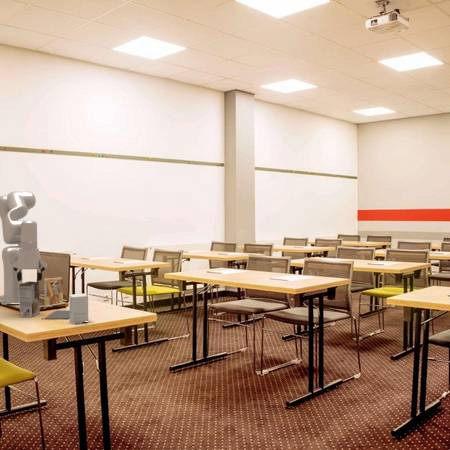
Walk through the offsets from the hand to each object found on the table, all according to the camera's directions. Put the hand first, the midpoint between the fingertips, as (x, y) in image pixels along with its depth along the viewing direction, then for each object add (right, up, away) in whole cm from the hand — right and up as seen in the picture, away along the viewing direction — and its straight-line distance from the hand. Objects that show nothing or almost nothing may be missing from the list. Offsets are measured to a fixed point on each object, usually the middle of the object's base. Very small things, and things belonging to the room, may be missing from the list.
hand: (29, 280), depth 252 cm
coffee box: (0, -17, +1) cm, 17 cm away
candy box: (+4, -17, +22) cm, 28 cm away
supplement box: (+28, -18, -13) cm, 35 cm away
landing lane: (+15, -17, +1) cm, 23 cm away
